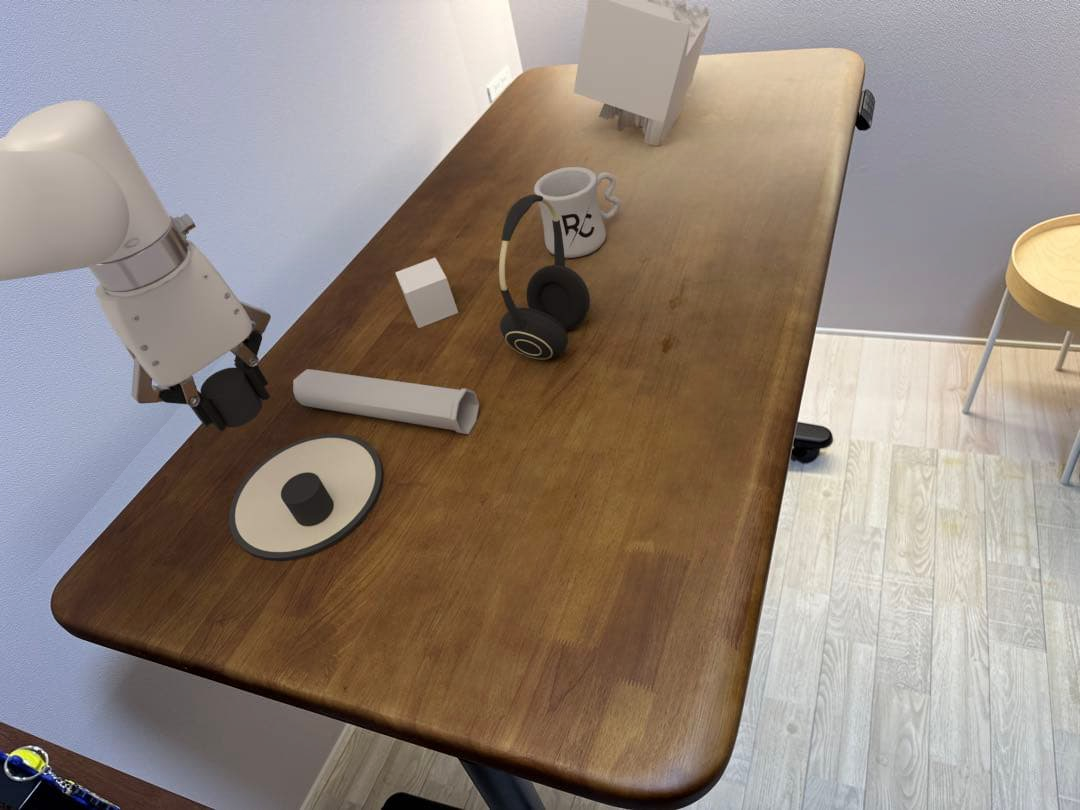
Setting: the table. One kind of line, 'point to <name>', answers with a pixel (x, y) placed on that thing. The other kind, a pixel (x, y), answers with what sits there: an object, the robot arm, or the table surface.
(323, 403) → the tube
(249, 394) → the eye dot
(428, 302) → the white cube
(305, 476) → the eye dot
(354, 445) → the face circle
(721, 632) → the table surface
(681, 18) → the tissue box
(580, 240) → the mug
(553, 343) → the headphones
